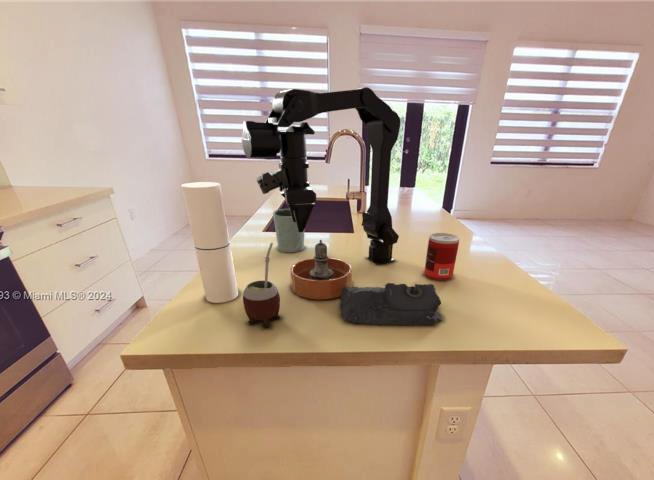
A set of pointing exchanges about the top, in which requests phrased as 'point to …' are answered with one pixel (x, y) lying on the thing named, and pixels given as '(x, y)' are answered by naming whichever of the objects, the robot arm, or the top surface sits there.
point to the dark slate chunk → (391, 305)
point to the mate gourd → (262, 299)
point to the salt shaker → (321, 263)
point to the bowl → (320, 288)
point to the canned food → (441, 256)
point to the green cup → (287, 232)
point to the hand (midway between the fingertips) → (298, 226)
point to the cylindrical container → (211, 240)
